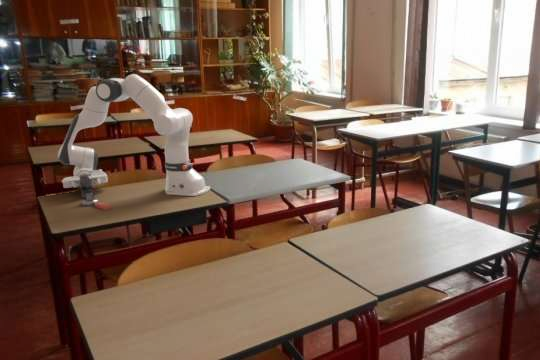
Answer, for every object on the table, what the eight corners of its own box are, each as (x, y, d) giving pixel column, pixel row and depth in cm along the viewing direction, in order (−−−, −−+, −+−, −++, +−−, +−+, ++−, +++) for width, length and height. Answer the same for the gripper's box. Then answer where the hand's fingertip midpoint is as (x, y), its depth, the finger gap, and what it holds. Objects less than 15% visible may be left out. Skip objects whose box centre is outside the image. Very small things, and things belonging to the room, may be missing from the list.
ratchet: (79, 204, 214) (77, 194, 212) (92, 199, 219) (91, 190, 218) (102, 211, 203) (100, 201, 202) (115, 206, 209) (114, 197, 208)
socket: (81, 195, 226) (78, 175, 223) (93, 193, 228) (90, 173, 225) (82, 198, 221) (79, 177, 219) (94, 196, 224) (91, 176, 221)
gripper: (60, 174, 229) (61, 181, 217) (104, 168, 238) (108, 175, 226) (62, 186, 231) (63, 194, 219) (106, 180, 239) (109, 187, 227)
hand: (86, 184), depth 222 cm, fingers open, 8 cm apart
